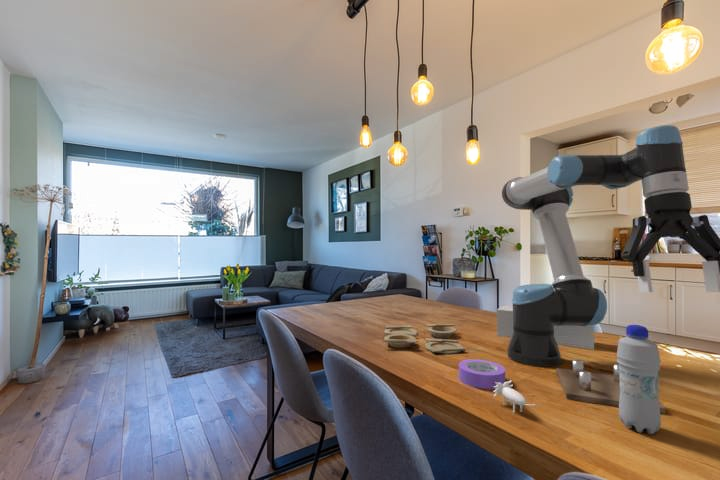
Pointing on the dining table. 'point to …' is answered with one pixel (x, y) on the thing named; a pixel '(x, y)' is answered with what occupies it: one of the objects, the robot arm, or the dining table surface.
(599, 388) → the peg base
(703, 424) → the dining table surface
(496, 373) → the masking tape
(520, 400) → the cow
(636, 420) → the bottle
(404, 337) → the tableware set
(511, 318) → the grey rectangular block
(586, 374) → the pegs
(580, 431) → the dining table surface
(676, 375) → the dining table surface
